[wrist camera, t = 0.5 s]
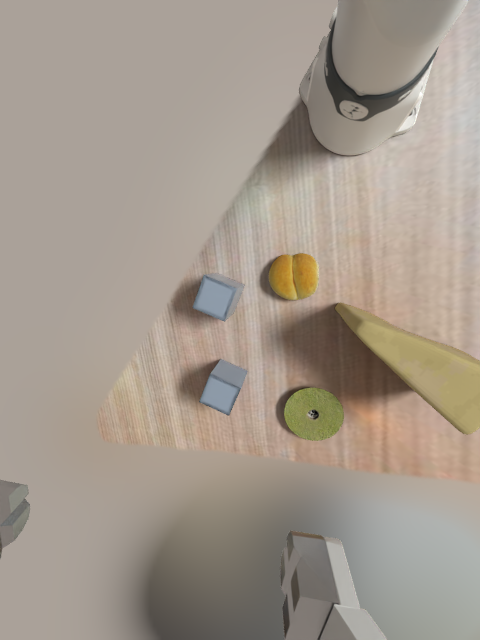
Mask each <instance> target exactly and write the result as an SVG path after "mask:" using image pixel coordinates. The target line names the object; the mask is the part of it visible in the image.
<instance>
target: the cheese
mask: <svg viewBox="0 0 480 640" xmlns="http://www.w3.org/2000/svg"><path fill="white" fill-rule="evenodd" d="M335 310H336V311H337V312H338V313H339V314H340V315H341V317H342V318H343V320H344V321H345V323H346V324H347V325H348V326H349V327H350V329H351V330H352V331H353V332H354V333H355V334H356V335H357V337H358V338H359V339H360V340H361V341H362V342H363V343H364V344H365V345H366V346H367V347H368V348H369V349H370V350H371V351H372V352H374V353H375V354H376V355H377V356H378V357H379V358H380V359H381V360H383V361H384V362H385V363H386V364H387V365H388V366H389V367H390V368H391V369H392V370H393V371H394V372H395V373H396V374H397V375H398V376H399V377H400V378H401V379H402V380H403V381H404V382H405V383H406V384H407V385H408V386H410V387H411V388H412V389H413V390H414V391H415V392H416V393H417V394H418V395H420V396H421V397H422V398H423V399H424V400H425V401H426V402H427V403H429V404H430V405H431V406H432V407H433V408H434V409H435V410H436V411H437V412H439V413H440V414H441V415H442V416H443V417H444V418H445V419H446V420H448V421H449V422H450V423H451V424H452V425H453V426H454V427H455V428H456V429H458V430H459V431H460V432H462V433H463V434H471V433H473V432H475V431H476V430H477V429H479V428H480V361H479V360H477V359H475V358H474V357H472V356H470V355H469V354H467V353H465V352H463V351H461V350H458V349H456V348H453V347H450V346H447V345H444V344H441V343H438V342H435V341H432V340H429V339H426V338H423V337H421V336H418V335H415V334H412V333H409V332H407V331H404V330H402V329H400V328H397V327H395V326H393V325H392V324H390V323H388V322H386V321H384V320H383V319H381V318H379V317H377V316H375V315H373V314H371V313H368V312H366V311H364V310H361V309H358V308H356V307H353V306H350V305H347V304H344V303H338V304H337V306H336V307H335Z"/></svg>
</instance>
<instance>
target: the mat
mask: <svg viewBox="0 0 480 640" xmlns="http://www.w3.org/2000/svg"><path fill="white" fill-rule="evenodd" d="M284 417H285V421H286V423H287V425H288V427H289V428H290V429H291V431H292V432H294V433H295V434H296V435H297V436H299V437H301V438H304V439H307V440H313V441H315V440H316V441H319V440H324V439H327V438H330V437H332V436H333V435H334V434H335V433H336V432H337V431H338V430H339V429H340V427H341V425H342V423H343V419H344V412H343V408H342V405H341V403H340V402H339V400H338V399H337V398H336V397H335V396H334V395H333V394H331V393H330V392H328V391H326V390H323V389H319V388H305V389H302V390H299V391H297V392H296V393H294V394H293V395H292V396H291V397H290V398H289V399H288V401H287V403H286V406H285V409H284Z"/></svg>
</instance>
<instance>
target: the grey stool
mask: <svg viewBox="0 0 480 640" xmlns="http://www.w3.org/2000/svg"><path fill="white" fill-rule="evenodd" d="M247 372H248V371H247V370H244V369H242V368H240V367H238V366H235V365H233V364H231V363H229V362H226V361H224V360H222V359H221V360H220V361H219V362H218V364H217V365H216V367H215V368H214V369H213V371H212V372H211V374H210V376H209V378H208V381H207V383H206V386H205V388H204V391H203V393H202V396H201V398H200V401H199V402H200V403H202V404H205V405H207V406H209V407H211V408H213V409H215V410H218V411H220V412H222V413H224V414H226V415H228V416H229V415H230V412H231V410H232V408H233V405H234V403H235V401H236V398H237V396H238V394H239V392H240V389H241V387H242V384H243V382H244V379H245V377H246V374H247Z"/></svg>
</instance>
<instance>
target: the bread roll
mask: <svg viewBox="0 0 480 640" xmlns="http://www.w3.org/2000/svg"><path fill="white" fill-rule="evenodd" d="M318 265H319V263H318V262H317V261H316V260H315V259H314V258H313V257H312V256H310V255H308V254H303V253H301V254H296V255H293V256H290V255H281V256H279V257H278V258H277V259H276V260H275V261H274V262H273V264H272V266H271V268H270V271H269V283H270V285H271V287H272V289H273V290H274V291H275V293H277V294H278V295H279V296H281V297H282V298H285V299H288V300H298V299H304V298H307V297H309V296H311V295H312V294H314V292H315V291H316V289H317V287H318V282H319V270H318V269H319V266H318Z"/></svg>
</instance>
